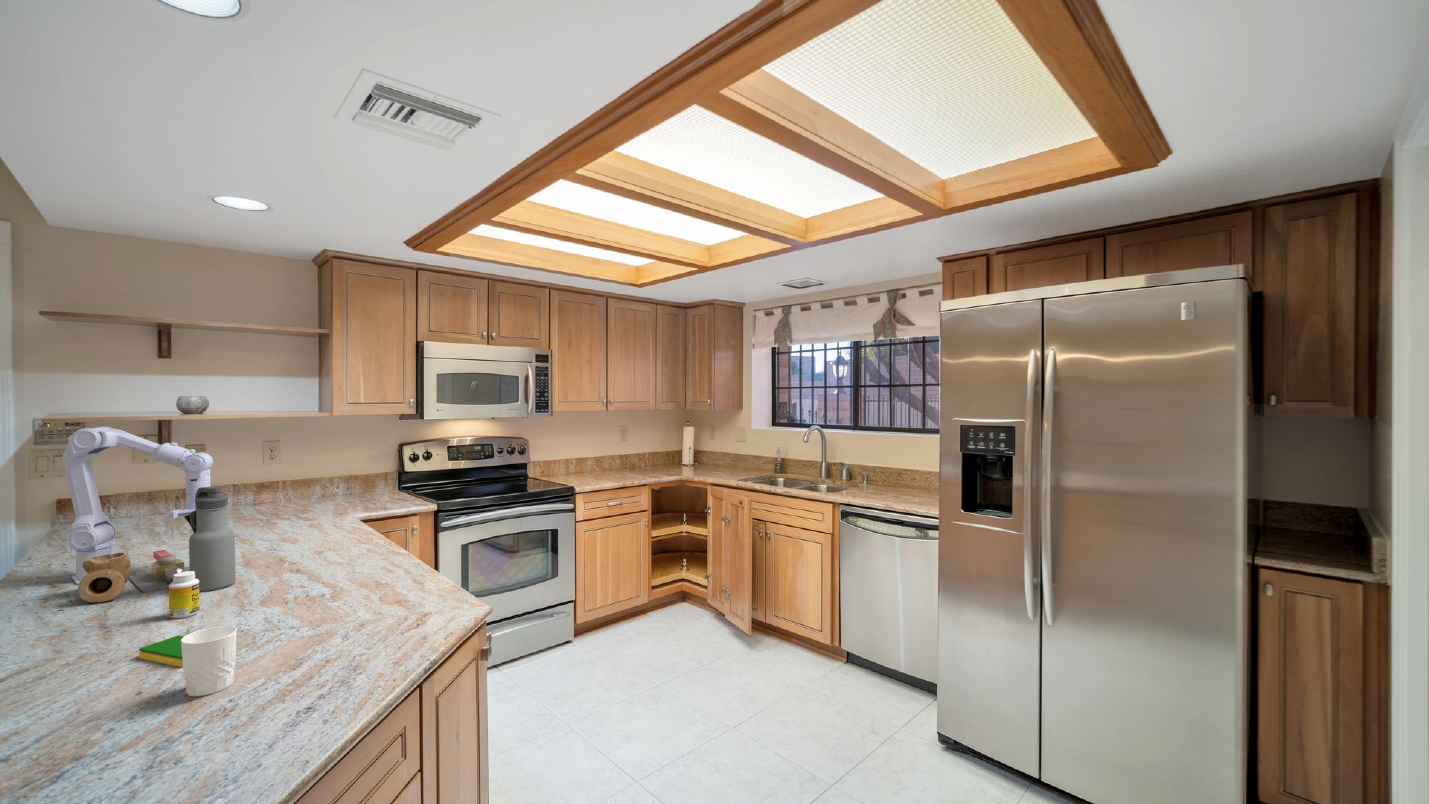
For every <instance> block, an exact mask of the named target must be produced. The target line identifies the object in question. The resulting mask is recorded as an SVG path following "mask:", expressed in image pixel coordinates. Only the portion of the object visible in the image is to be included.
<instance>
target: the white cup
mask: <svg viewBox="0 0 1429 804" xmlns="http://www.w3.org/2000/svg"><path fill="white" fill-rule="evenodd" d="M237 630H238V629H237V627H235V626H233V625H221V626H220V625H219V626H213V627H208V628H204V629H199V630H196V631H193V632H191V633H189V634H186V635H185V636H184V637H183V638H182V639H181V648H182V661H183V667H182V669H183V677H184V683H185V684H184V685H185V694H186V695H188V697H202V696H208V695H211V694H215V693H218V692H219V693H220V692H221V691H223V690H225V689H227V688H229V687H230V686H232V685H233V683H234V681H235V669H236V668H235V667H236V656H237V655H236V654H237V634H238V633H237Z"/></svg>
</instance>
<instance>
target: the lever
mask: <svg viewBox="0 0 1429 804" xmlns="http://www.w3.org/2000/svg"><path fill="white" fill-rule="evenodd" d="M152 555H153V559H155V561H157V560H158V561H159V564H170V563H174V562H176V559H177V555H175V554H174V555H172V554H171V553H170V552H169V551H166V550H164V549H162V550H155V551H152Z"/></svg>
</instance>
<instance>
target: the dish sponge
mask: <svg viewBox="0 0 1429 804" xmlns="http://www.w3.org/2000/svg"><path fill="white" fill-rule="evenodd" d="M183 637H185V636H184V635H175V636H172V637H169V638H166V639H163V640H160V641H158V642H155V643H152V644H148V645H145V646H143V647H140V648H138V651H139V652H138V657H139V659H142V660H148V661H150V662H155V663H160V664H165V665H170V666H175V667H178V668H179V667H180V668H183V661H182V648H181V639H182V638H183Z"/></svg>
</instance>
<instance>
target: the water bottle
mask: <svg viewBox="0 0 1429 804" xmlns="http://www.w3.org/2000/svg"><path fill="white" fill-rule="evenodd" d="M223 489H224V488H223V486H219V485H211V486H210V487H201V488H199V489H198V490H197V492H196V495H195V504H196V505H195V507H196V509H195V511H192V512H191V514H190V524H189V526H190V528H191V527H192V528H194V529H197V531H196V532H195V533H194V532H193V534H191V535H190V536H189V538H188V556H189V558H188V559H189V565H188V566H190V571H194V572H195V579H198V580H199V593H201V592H205V593H206V592H212V591H218V590H221V589H222V590H223V589H224V588H229V587H231V586H233V585H234V584H235V582H236V578H237V577H236V535H235V534H236V533H235V532H234V530H232V529H231V528H229V527H228V508H229V506H228V504H229V498H228V496H227V495H225V494H222V491H223ZM195 514H196V523H197V526H195V525H194V515H195ZM192 528H191V529H192Z"/></svg>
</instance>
